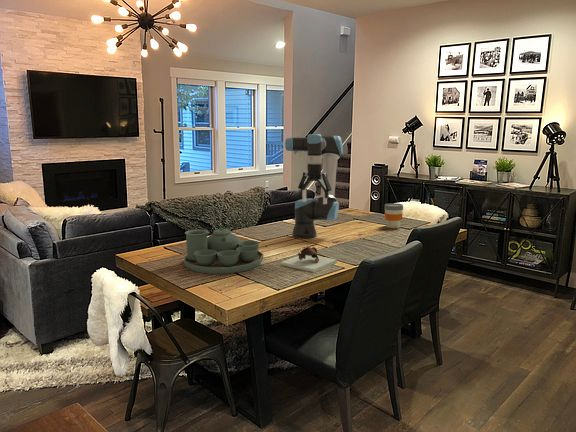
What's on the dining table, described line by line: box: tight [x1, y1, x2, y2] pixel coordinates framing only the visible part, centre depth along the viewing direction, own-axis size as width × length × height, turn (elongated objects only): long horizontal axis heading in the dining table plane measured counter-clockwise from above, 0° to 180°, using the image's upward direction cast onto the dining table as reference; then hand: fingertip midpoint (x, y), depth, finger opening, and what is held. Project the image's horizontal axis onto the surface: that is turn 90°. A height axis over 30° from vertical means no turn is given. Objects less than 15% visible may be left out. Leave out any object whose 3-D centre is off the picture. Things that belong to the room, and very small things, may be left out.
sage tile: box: [280, 255, 338, 273], centre depth 231 cm, size 20×20×2 cm
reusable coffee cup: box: [383, 202, 404, 229], centre depth 313 cm, size 13×13×15 cm
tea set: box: [183, 227, 265, 275], centre depth 234 cm, size 40×40×16 cm
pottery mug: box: [297, 246, 319, 263], centre depth 231 cm, size 12×9×8 cm
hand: (314, 202), depth 250 cm, fingers open, 13 cm apart
